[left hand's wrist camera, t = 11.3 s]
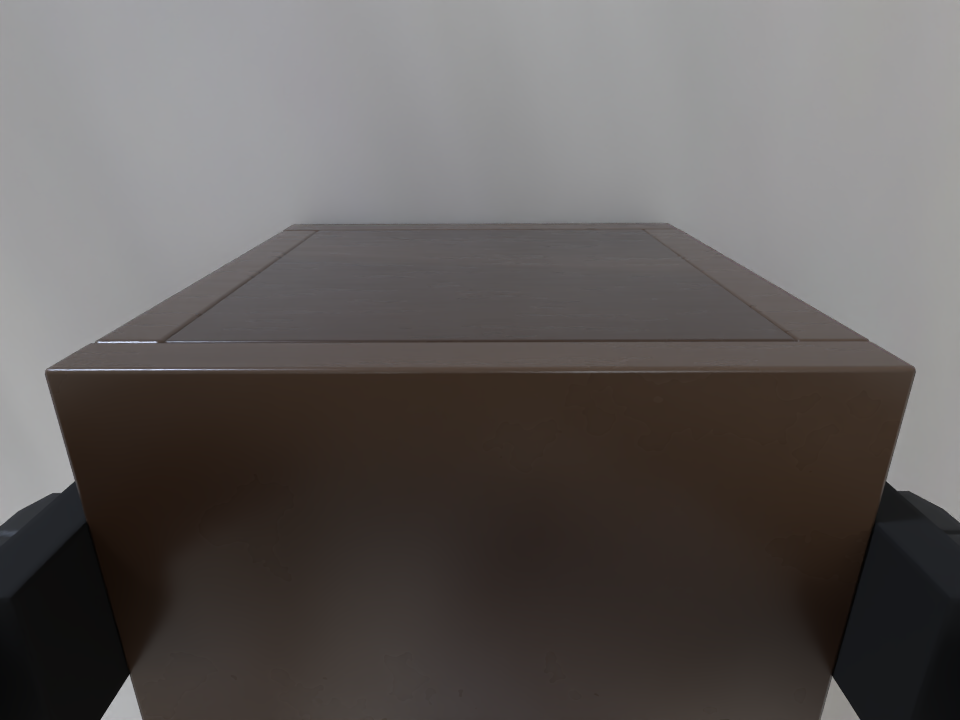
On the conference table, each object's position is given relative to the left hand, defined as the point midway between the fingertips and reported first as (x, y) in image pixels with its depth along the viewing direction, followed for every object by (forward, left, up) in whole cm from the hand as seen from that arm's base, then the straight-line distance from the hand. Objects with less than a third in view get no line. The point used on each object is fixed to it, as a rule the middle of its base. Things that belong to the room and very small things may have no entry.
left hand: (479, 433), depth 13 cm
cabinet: (+3, -5, -5) cm, 8 cm away
